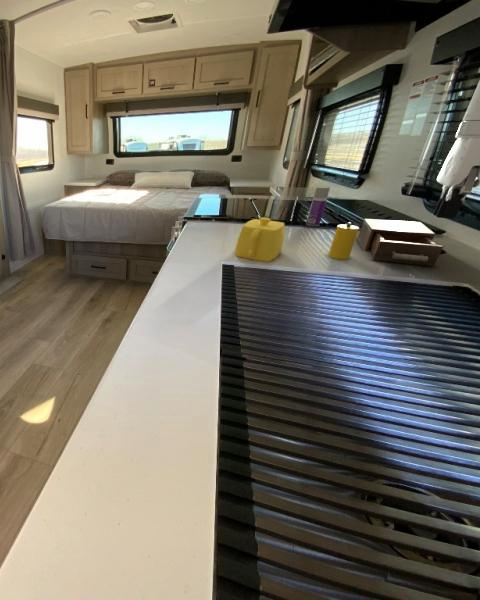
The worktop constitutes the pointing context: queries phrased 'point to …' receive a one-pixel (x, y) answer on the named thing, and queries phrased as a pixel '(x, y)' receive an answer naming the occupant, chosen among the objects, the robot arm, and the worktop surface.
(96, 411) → the worktop surface
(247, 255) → the teapot
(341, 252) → the yellow cylinder
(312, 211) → the container
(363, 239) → the cabinet
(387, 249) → the drawer
